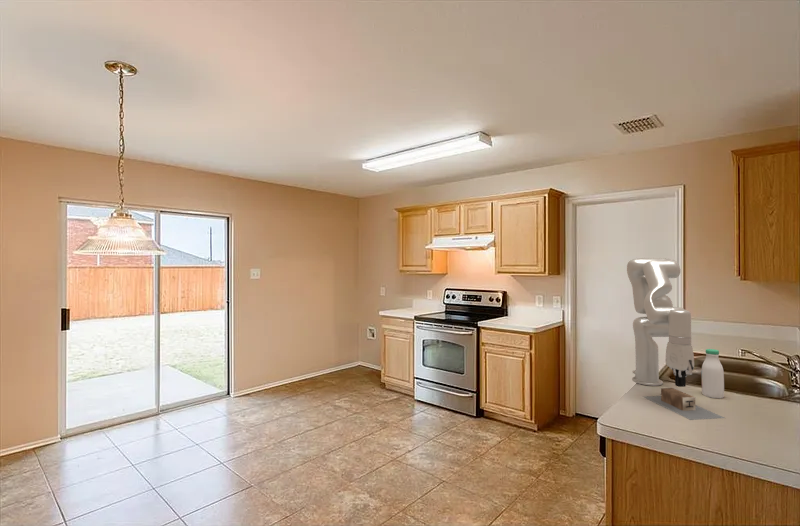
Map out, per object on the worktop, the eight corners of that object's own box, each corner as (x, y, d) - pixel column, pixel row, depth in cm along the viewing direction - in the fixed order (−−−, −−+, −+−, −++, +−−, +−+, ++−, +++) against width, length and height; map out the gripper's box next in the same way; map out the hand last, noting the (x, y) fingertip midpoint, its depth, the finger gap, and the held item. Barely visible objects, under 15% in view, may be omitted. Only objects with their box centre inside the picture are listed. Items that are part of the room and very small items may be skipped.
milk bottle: (728, 398, 173) (728, 351, 173) (710, 398, 173) (709, 351, 173) (715, 392, 180) (714, 347, 180) (697, 393, 180) (696, 347, 180)
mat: (642, 397, 176) (642, 396, 176) (672, 396, 177) (672, 395, 177) (690, 420, 150) (690, 419, 150) (725, 419, 151) (725, 417, 151)
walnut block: (683, 410, 159) (661, 400, 171) (695, 410, 159) (672, 399, 171) (683, 397, 159) (661, 388, 171) (695, 397, 159) (672, 387, 171)
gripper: (657, 337, 170) (658, 381, 171) (685, 344, 156) (686, 392, 156) (674, 336, 171) (675, 380, 171) (704, 343, 156) (704, 391, 156)
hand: (680, 386), depth 163 cm, fingers closed
